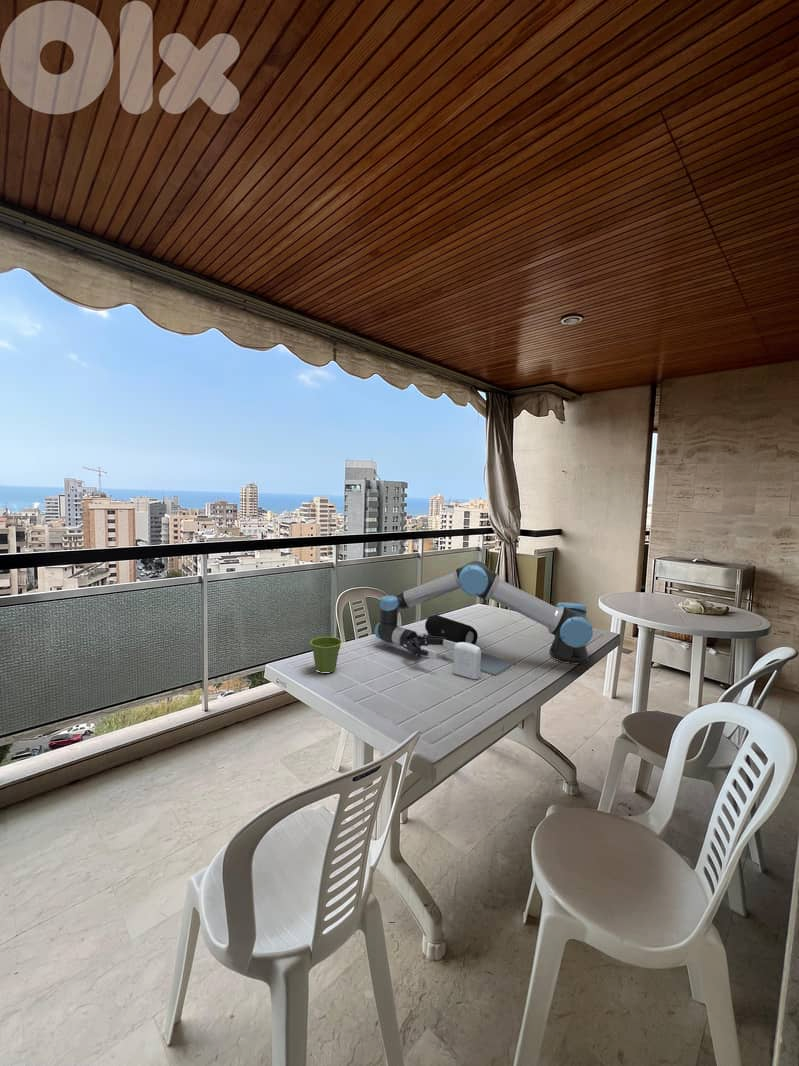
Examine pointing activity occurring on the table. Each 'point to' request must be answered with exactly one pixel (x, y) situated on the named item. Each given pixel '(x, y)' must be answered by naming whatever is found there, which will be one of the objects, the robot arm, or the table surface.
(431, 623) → the portable speaker
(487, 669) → the rubber mat
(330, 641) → the plant pot
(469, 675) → the photo printer
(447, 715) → the table surface
